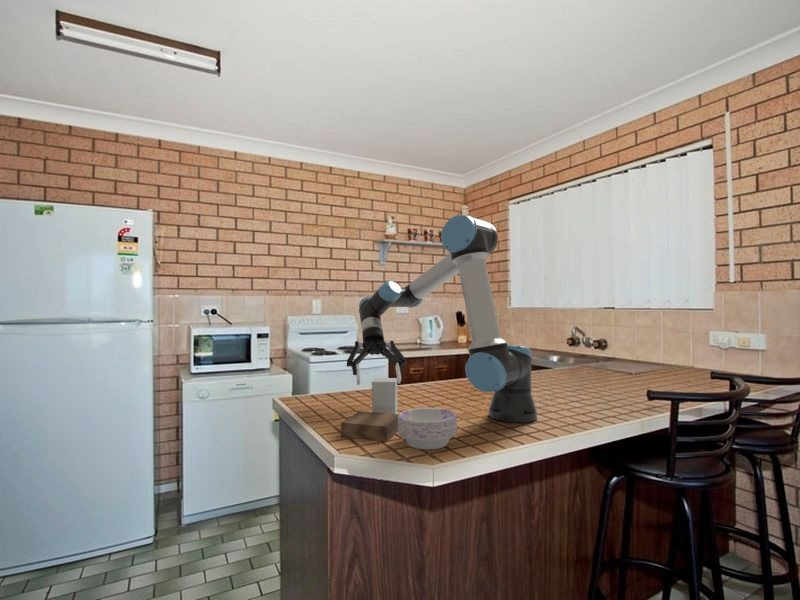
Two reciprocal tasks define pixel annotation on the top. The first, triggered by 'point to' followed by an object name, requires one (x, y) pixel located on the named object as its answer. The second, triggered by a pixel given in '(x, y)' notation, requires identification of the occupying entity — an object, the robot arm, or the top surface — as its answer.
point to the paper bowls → (427, 427)
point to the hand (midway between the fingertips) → (379, 381)
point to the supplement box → (384, 395)
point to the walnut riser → (370, 426)
